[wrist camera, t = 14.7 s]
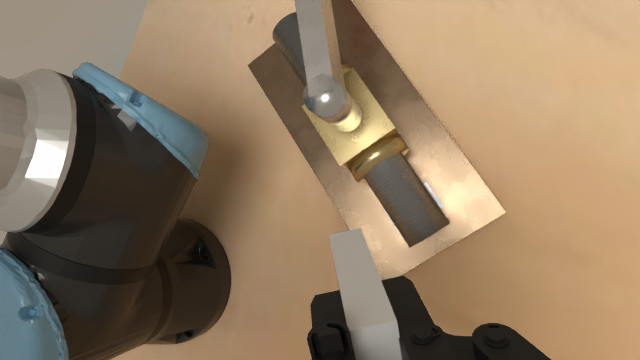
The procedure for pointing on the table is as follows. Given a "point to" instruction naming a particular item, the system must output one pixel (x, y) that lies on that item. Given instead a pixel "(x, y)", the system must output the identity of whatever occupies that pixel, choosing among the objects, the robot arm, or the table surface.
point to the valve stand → (378, 148)
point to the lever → (324, 67)
